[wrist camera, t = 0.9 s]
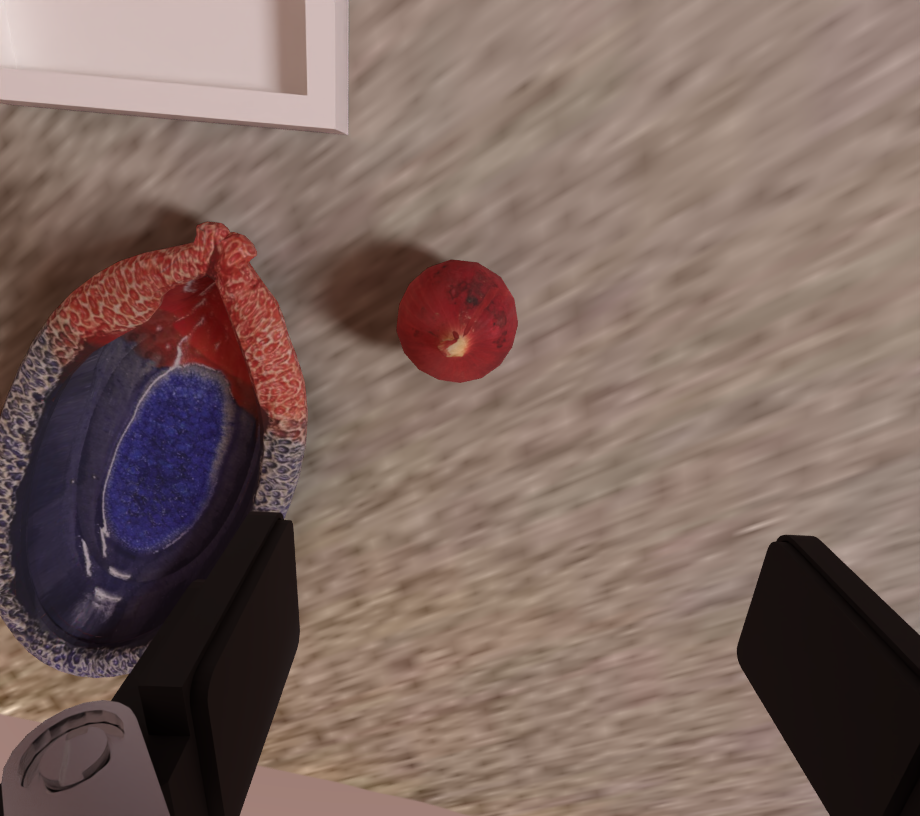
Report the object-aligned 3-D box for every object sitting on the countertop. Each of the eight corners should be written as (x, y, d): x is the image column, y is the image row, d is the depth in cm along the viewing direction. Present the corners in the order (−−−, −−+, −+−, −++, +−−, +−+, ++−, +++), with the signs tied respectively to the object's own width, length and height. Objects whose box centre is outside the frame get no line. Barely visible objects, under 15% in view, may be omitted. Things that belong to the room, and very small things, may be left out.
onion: (437, 230, 29) (430, 246, 21) (530, 286, 30) (554, 320, 22) (386, 325, 31) (363, 371, 23) (475, 375, 32) (480, 433, 24)
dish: (-17, 577, 37) (-85, 633, 33) (134, 151, 27) (69, 144, 23) (200, 667, 40) (166, 730, 36) (406, 312, 30) (396, 334, 26)
